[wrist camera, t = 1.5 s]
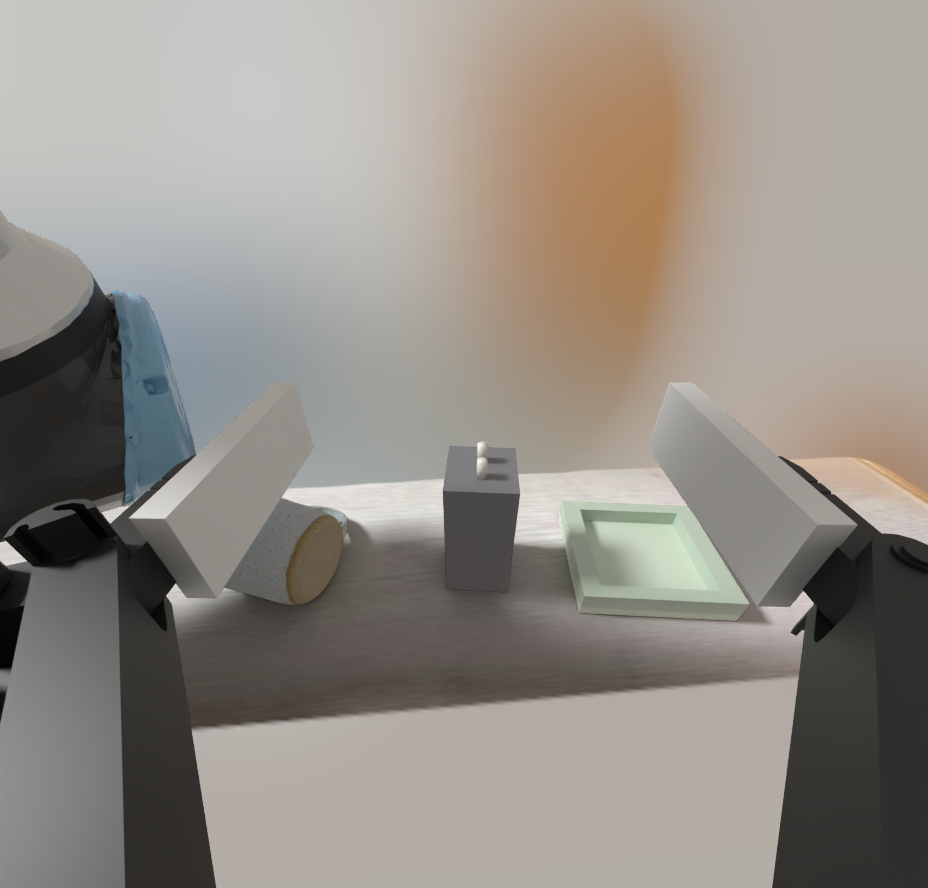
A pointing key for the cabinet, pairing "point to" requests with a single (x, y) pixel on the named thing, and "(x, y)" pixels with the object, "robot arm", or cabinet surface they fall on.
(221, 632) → the cabinet surface
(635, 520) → the shallow pale green tray
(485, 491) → the charger brick
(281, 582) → the ceramic mug
